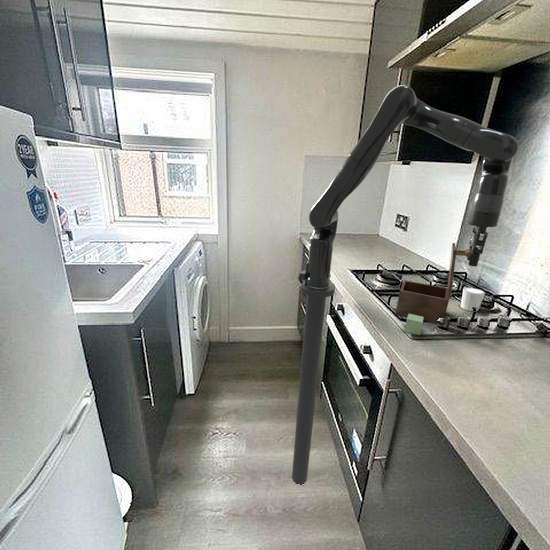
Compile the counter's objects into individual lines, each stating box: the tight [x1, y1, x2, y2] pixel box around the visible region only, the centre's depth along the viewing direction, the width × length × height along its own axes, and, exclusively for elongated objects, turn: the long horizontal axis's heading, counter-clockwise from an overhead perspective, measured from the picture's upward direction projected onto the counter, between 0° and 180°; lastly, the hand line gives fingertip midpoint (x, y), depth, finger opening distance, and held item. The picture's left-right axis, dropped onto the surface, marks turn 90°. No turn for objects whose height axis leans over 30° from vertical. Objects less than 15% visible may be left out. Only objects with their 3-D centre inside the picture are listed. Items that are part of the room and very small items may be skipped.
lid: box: [447, 242, 471, 300], centre depth 97 cm, size 16×13×5 cm
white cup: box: [460, 287, 486, 312], centre depth 111 cm, size 7×7×7 cm
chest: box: [395, 280, 450, 326], centre depth 105 cm, size 15×13×9 cm
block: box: [404, 314, 424, 336], centre depth 93 cm, size 4×4×4 cm
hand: (471, 263), depth 95 cm, fingers open, 6 cm apart
